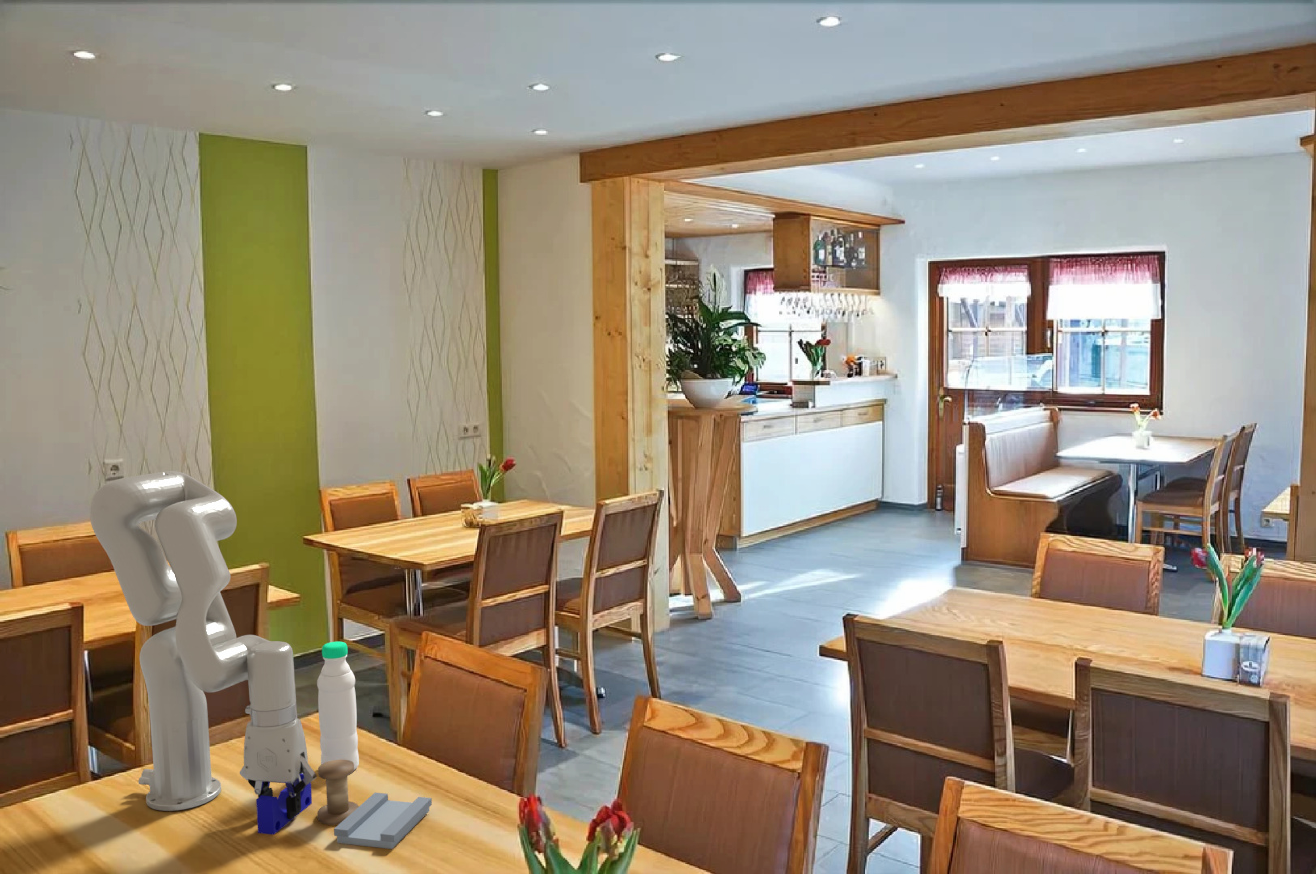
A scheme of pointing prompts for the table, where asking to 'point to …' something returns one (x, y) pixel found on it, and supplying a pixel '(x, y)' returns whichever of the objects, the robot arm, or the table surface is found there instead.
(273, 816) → the cable clip
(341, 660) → the water bottle
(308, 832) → the table surface
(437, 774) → the table surface
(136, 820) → the table surface
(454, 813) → the table surface
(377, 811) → the notched board
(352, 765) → the door knob
